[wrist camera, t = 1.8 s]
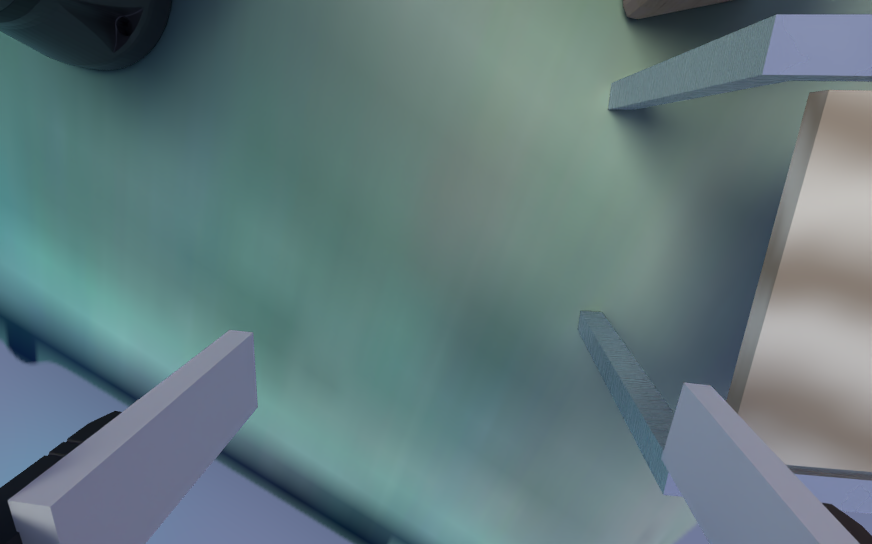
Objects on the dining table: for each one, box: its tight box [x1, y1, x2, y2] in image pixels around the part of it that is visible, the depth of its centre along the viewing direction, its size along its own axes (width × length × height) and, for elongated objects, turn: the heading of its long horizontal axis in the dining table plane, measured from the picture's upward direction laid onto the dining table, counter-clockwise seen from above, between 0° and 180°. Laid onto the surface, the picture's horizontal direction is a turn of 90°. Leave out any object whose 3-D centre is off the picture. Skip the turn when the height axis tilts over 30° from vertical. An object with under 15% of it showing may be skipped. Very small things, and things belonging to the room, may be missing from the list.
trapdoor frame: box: [578, 14, 872, 514], centre depth 27 cm, size 22×22×20 cm
